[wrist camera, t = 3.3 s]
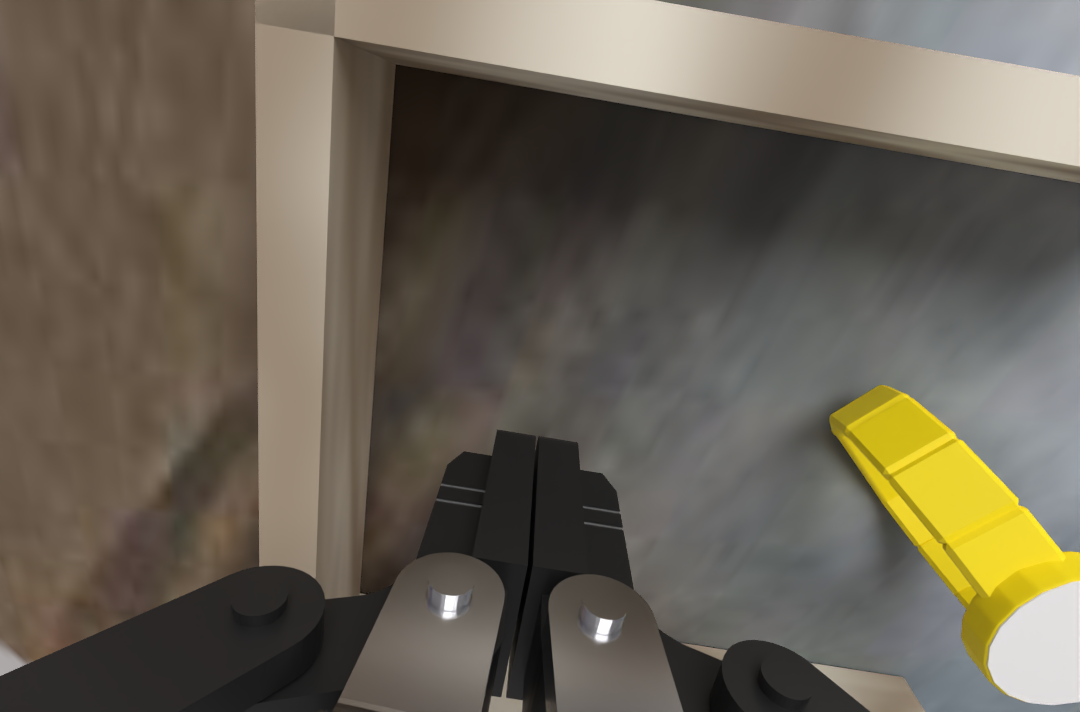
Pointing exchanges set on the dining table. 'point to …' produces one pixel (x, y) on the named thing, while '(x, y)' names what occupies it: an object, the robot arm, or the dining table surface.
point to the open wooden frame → (565, 67)
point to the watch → (973, 544)
